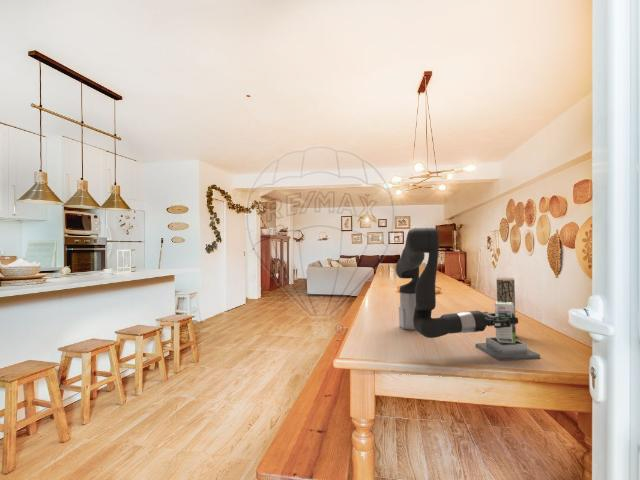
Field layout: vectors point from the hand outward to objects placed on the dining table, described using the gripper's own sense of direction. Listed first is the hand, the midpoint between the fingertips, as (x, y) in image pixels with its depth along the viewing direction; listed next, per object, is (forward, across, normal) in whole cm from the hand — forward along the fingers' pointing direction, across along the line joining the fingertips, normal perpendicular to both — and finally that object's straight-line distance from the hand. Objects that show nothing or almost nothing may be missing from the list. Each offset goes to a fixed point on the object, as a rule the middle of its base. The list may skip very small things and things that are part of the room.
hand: (509, 317), depth 120 cm
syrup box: (-3, 0, +9) cm, 9 cm away
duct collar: (-2, 0, +13) cm, 13 cm away
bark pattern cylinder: (+12, +19, +13) cm, 26 cm away
